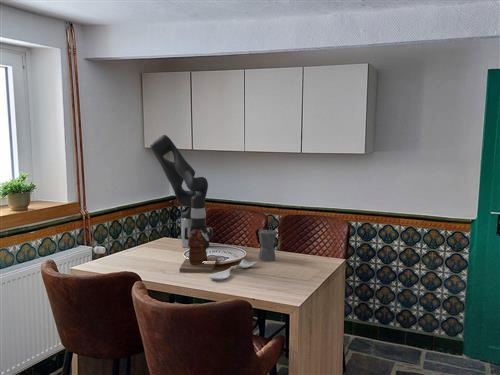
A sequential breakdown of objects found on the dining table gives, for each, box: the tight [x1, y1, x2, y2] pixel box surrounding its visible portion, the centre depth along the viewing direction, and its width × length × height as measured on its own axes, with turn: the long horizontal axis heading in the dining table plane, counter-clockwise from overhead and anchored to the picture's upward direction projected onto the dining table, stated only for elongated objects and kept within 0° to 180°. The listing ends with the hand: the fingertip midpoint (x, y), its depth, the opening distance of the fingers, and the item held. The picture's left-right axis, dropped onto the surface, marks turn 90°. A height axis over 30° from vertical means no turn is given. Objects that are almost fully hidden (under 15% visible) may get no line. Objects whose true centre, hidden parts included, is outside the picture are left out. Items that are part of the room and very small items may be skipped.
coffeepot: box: [255, 226, 278, 262], centre depth 261 cm, size 15×9×18 cm, turn 44°
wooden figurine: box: [188, 228, 208, 265], centre depth 248 cm, size 12×6×18 cm, turn 157°
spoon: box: [208, 258, 258, 281], centre depth 238 cm, size 9×32×4 cm, turn 145°
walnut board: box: [179, 255, 218, 274], centre depth 249 cm, size 22×16×2 cm
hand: (198, 247), depth 248 cm, fingers open, 8 cm apart
